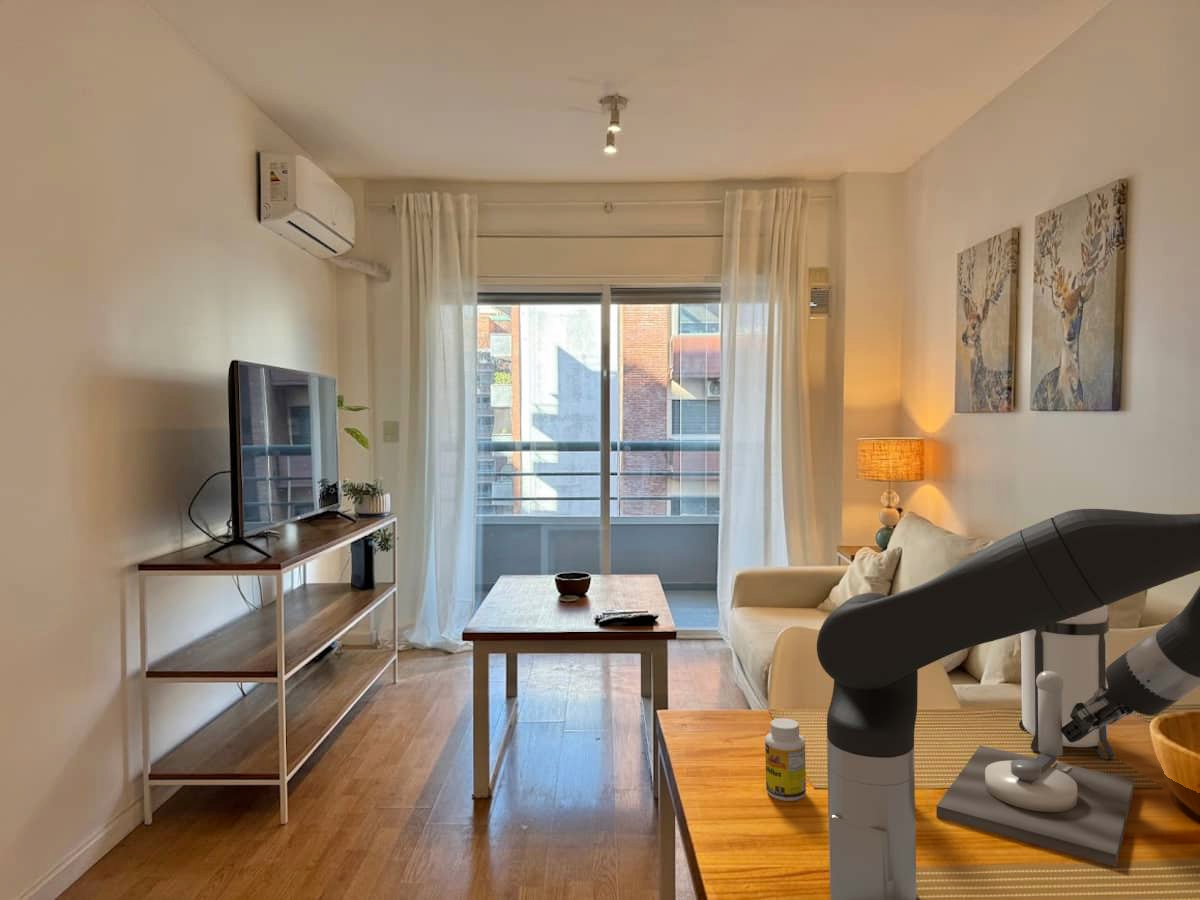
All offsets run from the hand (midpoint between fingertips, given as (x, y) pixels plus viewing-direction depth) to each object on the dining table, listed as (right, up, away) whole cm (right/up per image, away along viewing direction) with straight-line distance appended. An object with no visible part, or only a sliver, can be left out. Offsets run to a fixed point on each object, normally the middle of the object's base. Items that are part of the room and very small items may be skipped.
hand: (1068, 735), depth 110 cm
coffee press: (+9, -7, +16) cm, 20 cm away
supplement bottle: (-40, -9, +1) cm, 41 cm away
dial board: (-7, -8, -4) cm, 11 cm away
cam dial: (-6, -6, -3) cm, 9 cm away
